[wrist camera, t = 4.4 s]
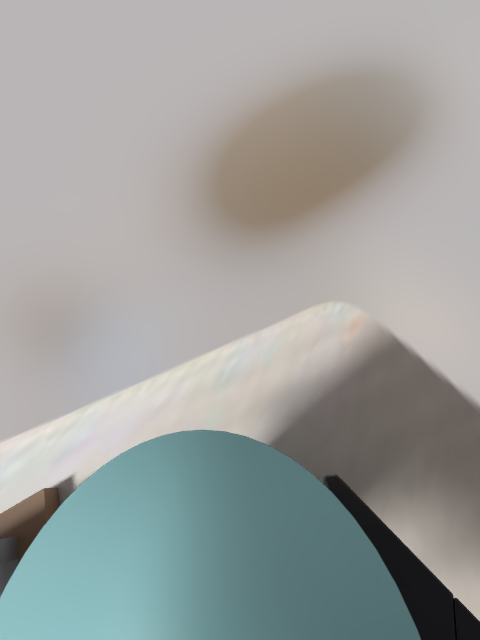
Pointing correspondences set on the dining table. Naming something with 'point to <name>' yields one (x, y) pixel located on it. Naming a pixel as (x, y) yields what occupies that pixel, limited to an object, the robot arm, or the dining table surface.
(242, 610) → the post
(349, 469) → the dining table surface
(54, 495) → the brown and grey tray
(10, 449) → the dining table surface
